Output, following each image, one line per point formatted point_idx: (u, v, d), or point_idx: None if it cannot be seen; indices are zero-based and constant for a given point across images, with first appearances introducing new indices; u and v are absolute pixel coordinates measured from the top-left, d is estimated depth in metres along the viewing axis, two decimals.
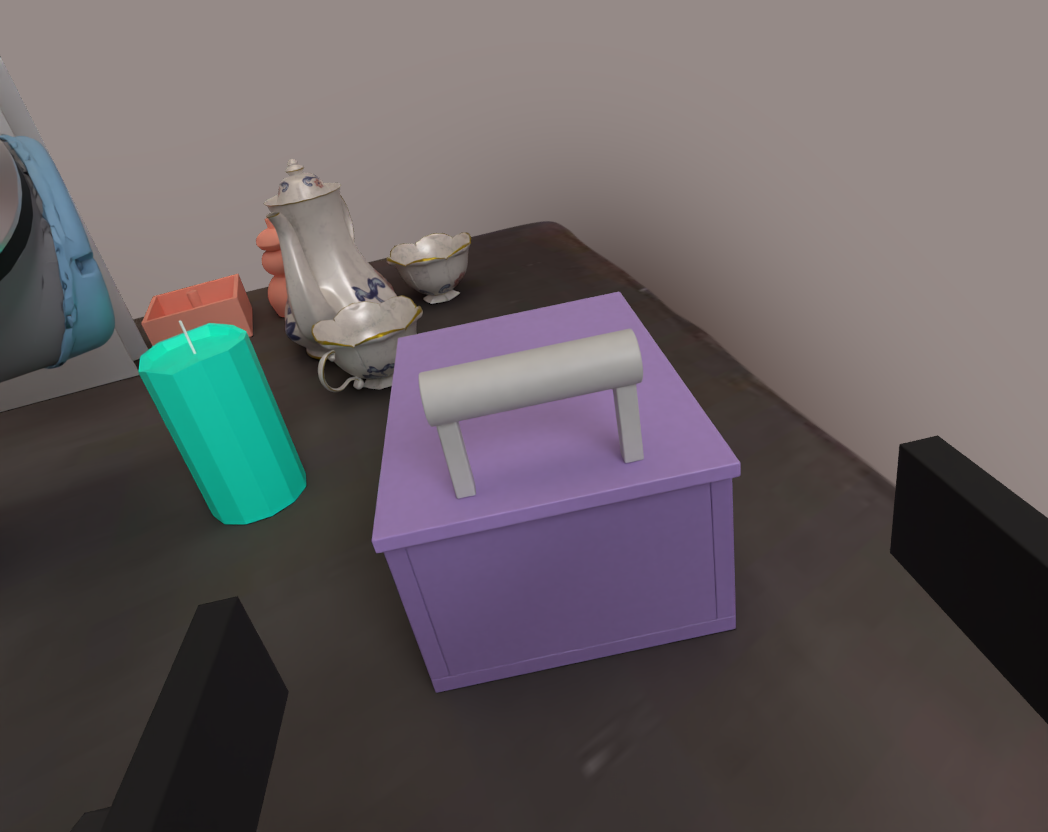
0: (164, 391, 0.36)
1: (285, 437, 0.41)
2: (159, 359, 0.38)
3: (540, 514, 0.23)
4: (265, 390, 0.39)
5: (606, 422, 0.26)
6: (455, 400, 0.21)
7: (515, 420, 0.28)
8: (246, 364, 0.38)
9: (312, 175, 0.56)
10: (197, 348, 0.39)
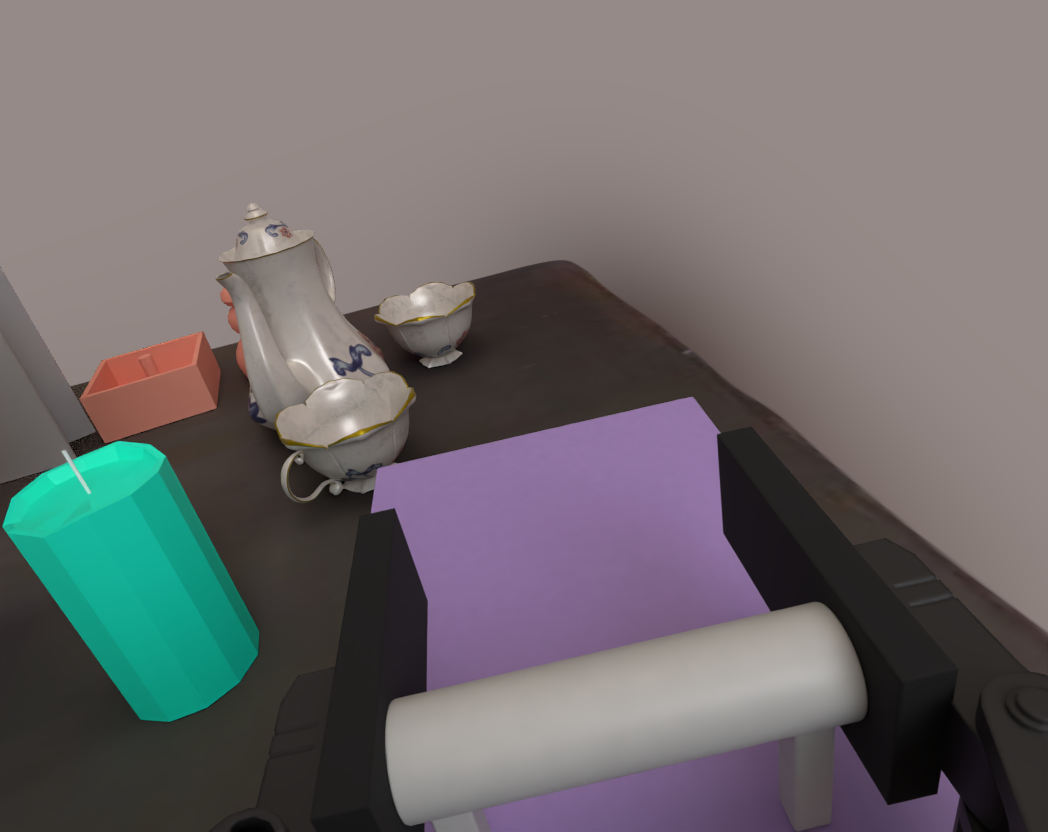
0: (36, 558, 0.25)
1: (225, 595, 0.30)
2: (40, 500, 0.27)
3: None
4: (193, 537, 0.28)
5: None
6: (464, 789, 0.10)
7: None
8: (161, 508, 0.27)
9: (278, 222, 0.45)
10: (95, 481, 0.28)
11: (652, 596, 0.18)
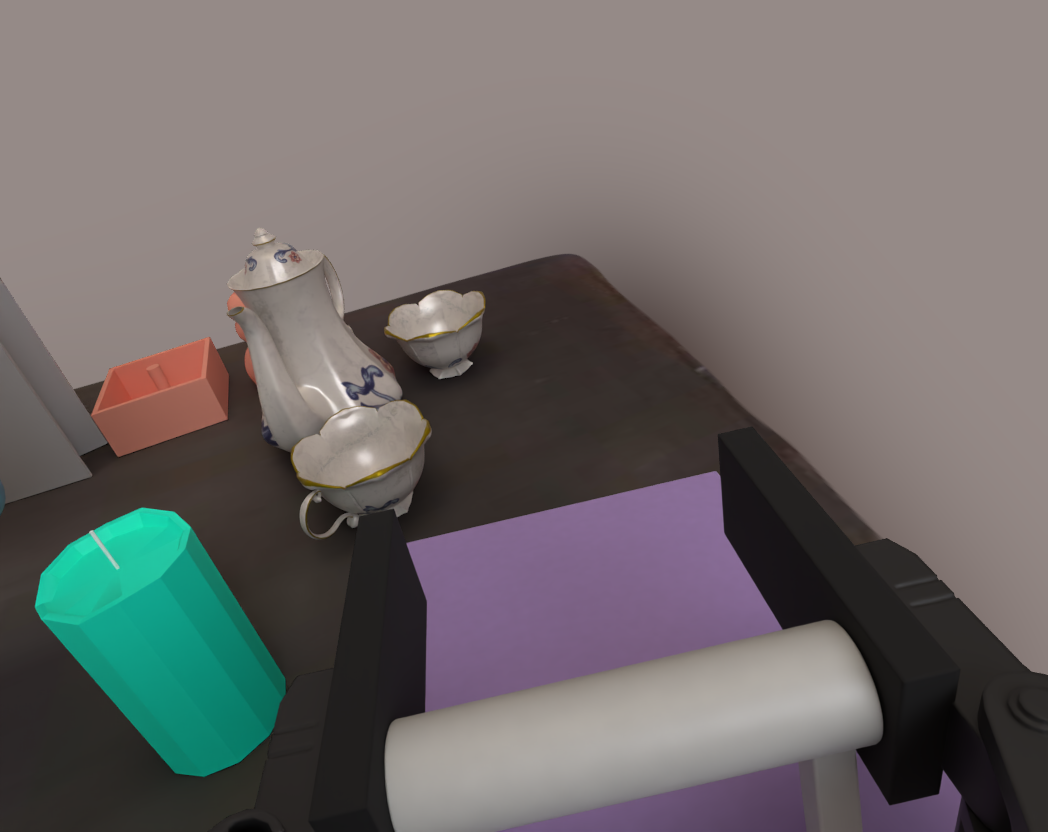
0: (70, 640, 0.25)
1: (253, 655, 0.30)
2: (69, 575, 0.27)
3: None
4: (221, 605, 0.28)
5: None
6: (463, 805, 0.09)
7: None
8: (190, 583, 0.27)
9: (286, 247, 0.44)
10: (122, 554, 0.28)
11: None
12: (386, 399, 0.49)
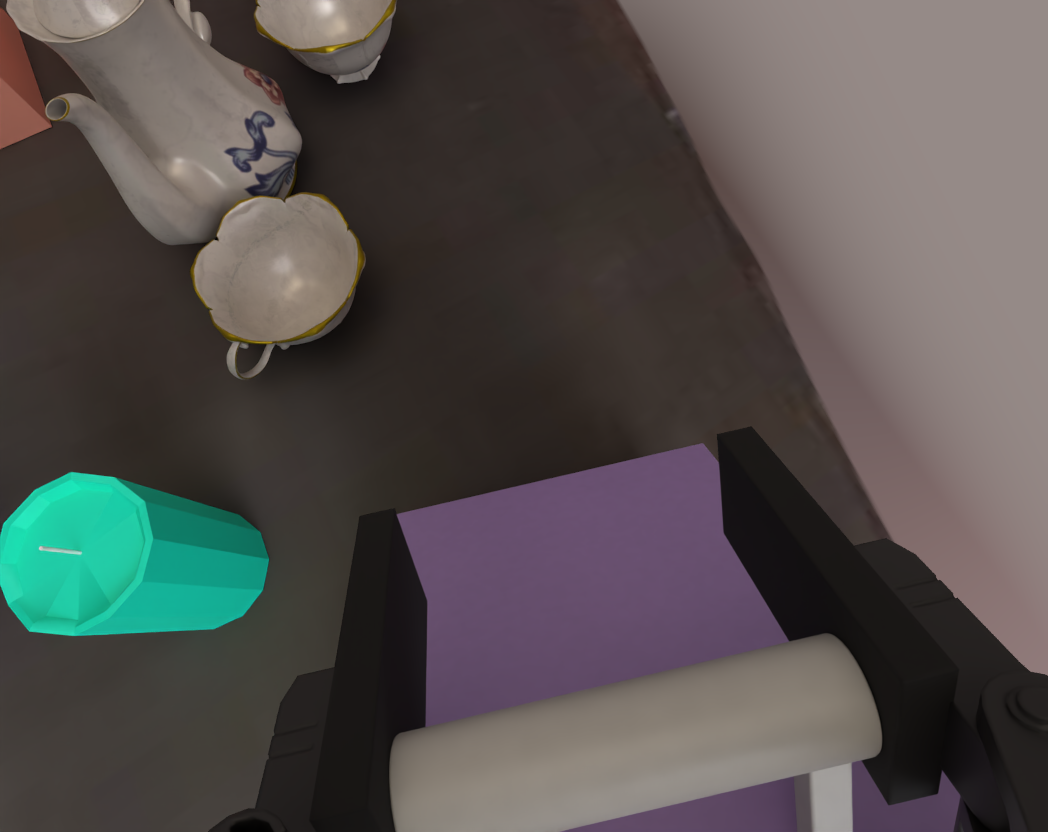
0: None
1: (235, 554, 0.31)
2: (24, 557, 0.26)
3: None
4: (198, 547, 0.28)
5: None
6: (469, 825, 0.10)
7: None
8: (168, 559, 0.26)
9: None
10: (74, 531, 0.26)
11: (663, 639, 0.17)
12: (284, 157, 0.38)
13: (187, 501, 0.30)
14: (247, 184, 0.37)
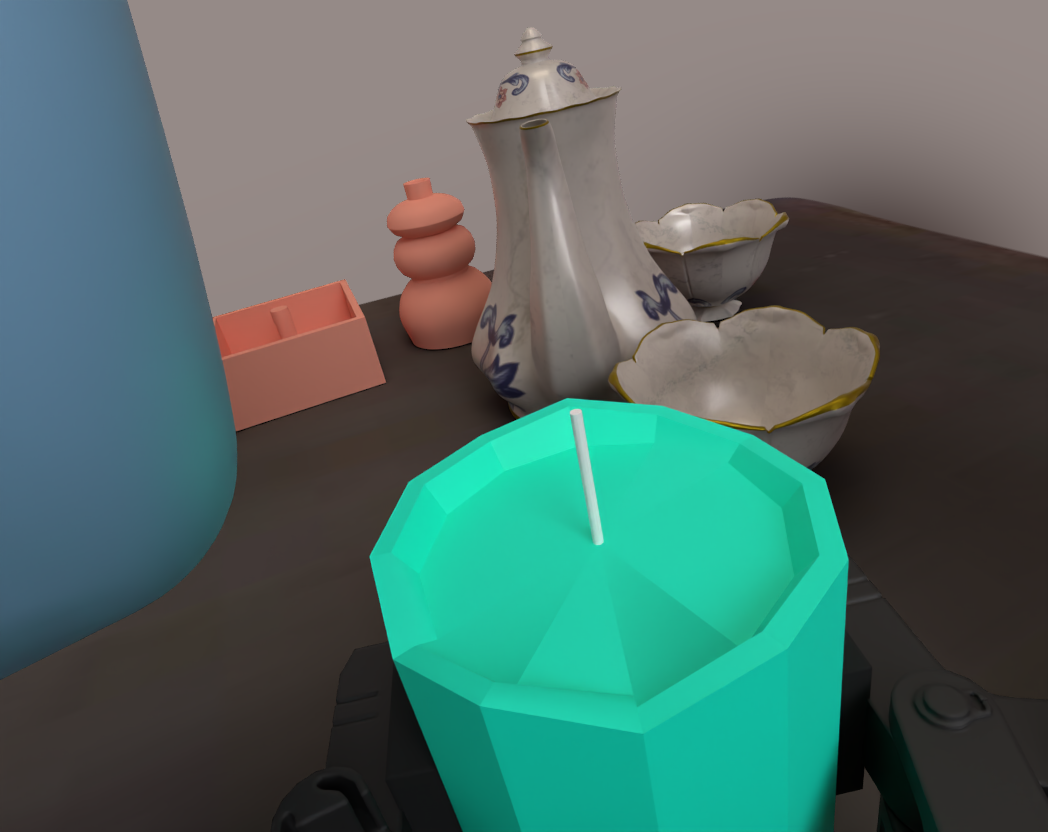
0: (553, 785, 0.07)
1: None
2: (441, 562, 0.09)
3: None
4: None
5: None
6: None
7: None
8: None
9: (569, 63, 0.27)
10: (574, 506, 0.10)
11: None
12: None
13: None
14: None
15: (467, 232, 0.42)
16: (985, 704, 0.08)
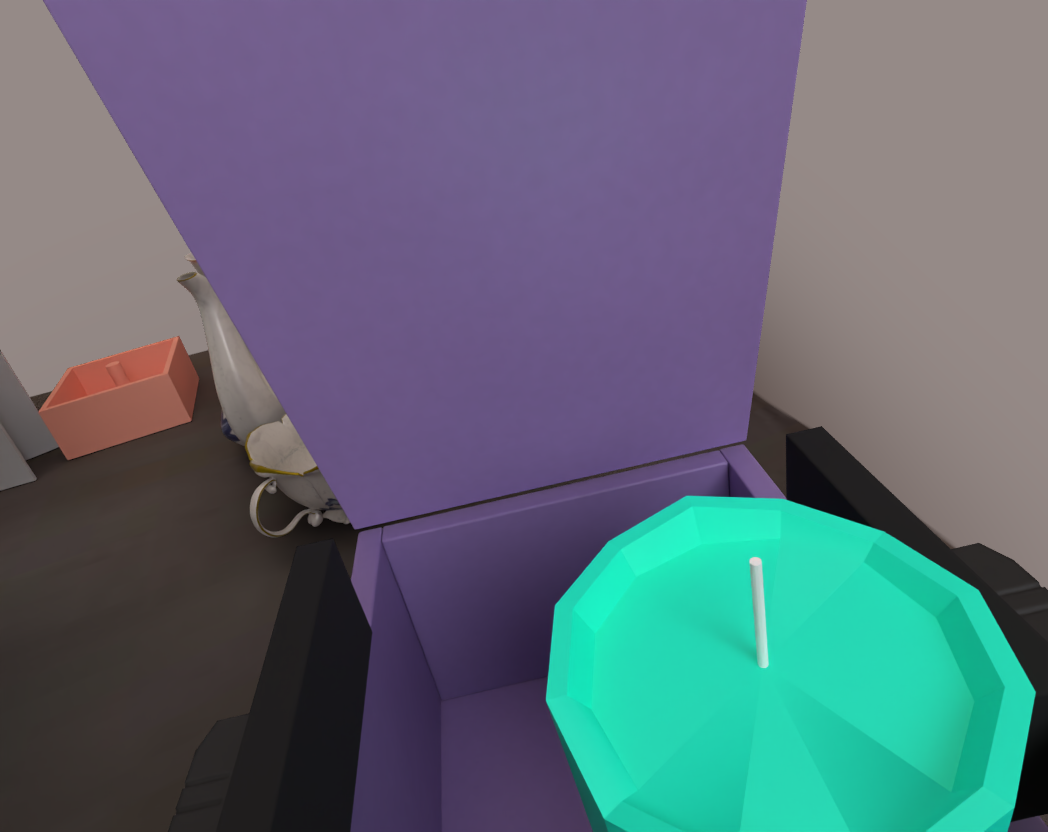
0: None
1: None
2: (609, 693, 0.09)
3: None
4: None
5: None
6: None
7: None
8: None
9: None
10: (724, 619, 0.10)
11: None
12: None
13: None
14: None
15: None
16: None
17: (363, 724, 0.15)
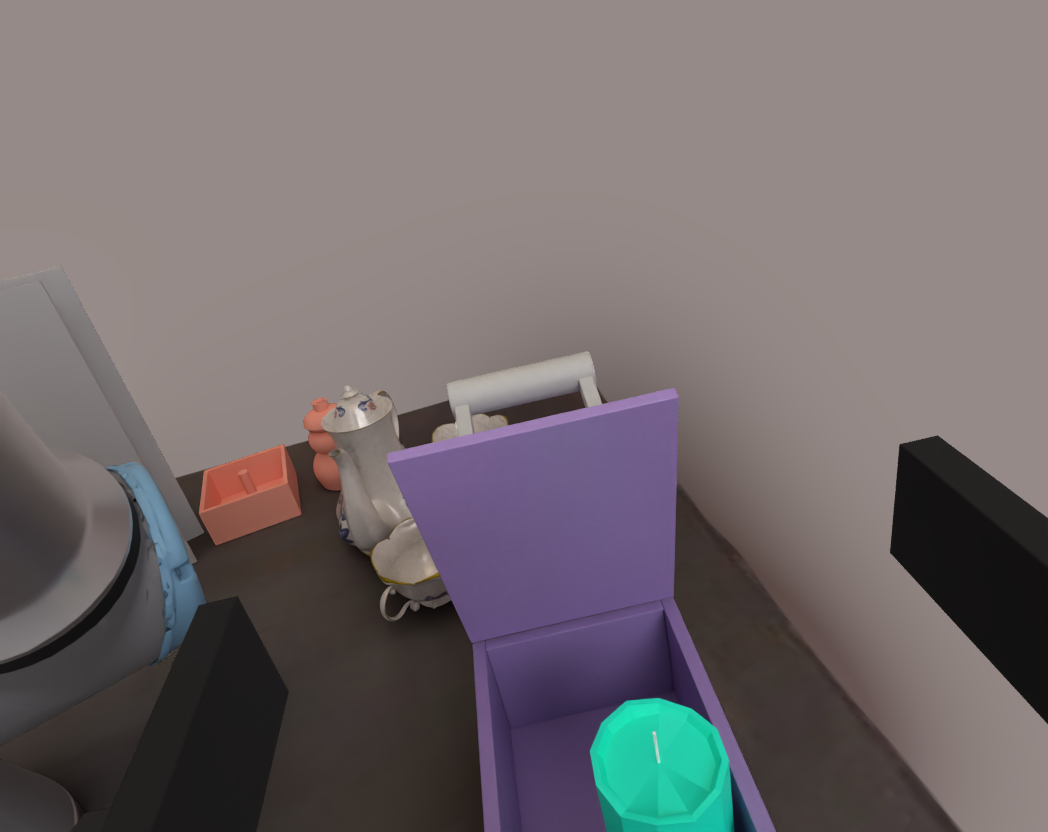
0: None
1: None
2: (613, 779, 0.30)
3: (519, 429, 0.29)
4: None
5: None
6: (467, 381, 0.32)
7: None
8: None
9: (366, 398, 0.60)
10: (645, 748, 0.31)
11: None
12: None
13: None
14: (411, 517, 0.61)
15: None
16: None
17: (494, 746, 0.35)
